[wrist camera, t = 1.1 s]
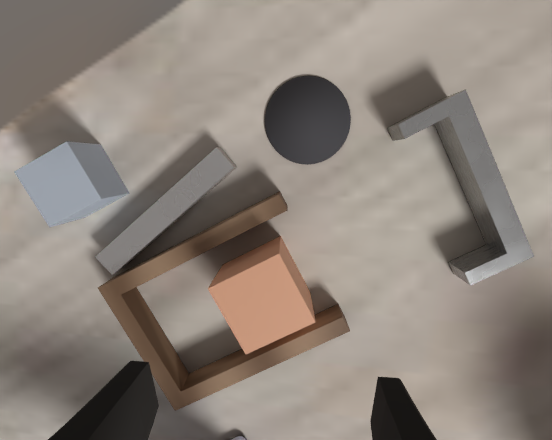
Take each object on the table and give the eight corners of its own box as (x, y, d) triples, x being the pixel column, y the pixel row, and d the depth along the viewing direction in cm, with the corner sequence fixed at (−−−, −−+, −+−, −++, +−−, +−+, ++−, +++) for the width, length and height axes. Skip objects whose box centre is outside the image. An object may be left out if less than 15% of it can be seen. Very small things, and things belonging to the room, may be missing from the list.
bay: (183, 391, 28) (175, 410, 26) (113, 277, 26) (97, 287, 24) (344, 316, 26) (350, 330, 24) (279, 191, 25) (279, 194, 23)
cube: (253, 318, 27) (245, 354, 22) (222, 264, 26) (207, 288, 21) (310, 291, 26) (315, 322, 21) (280, 235, 26) (279, 253, 21)
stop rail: (453, 273, 26) (470, 285, 23) (387, 127, 24) (398, 124, 21) (510, 247, 25) (534, 256, 23) (447, 96, 23) (465, 89, 21)
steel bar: (123, 267, 27) (112, 275, 25) (107, 250, 26) (95, 256, 25) (237, 166, 25) (234, 167, 23) (221, 148, 25) (216, 147, 23)
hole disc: (289, 178, 25) (288, 178, 25) (250, 102, 24) (249, 102, 24) (364, 139, 24) (364, 139, 24) (327, 60, 23) (327, 59, 23)
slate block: (85, 217, 26) (49, 227, 22) (56, 170, 25) (14, 171, 21) (130, 193, 25) (101, 198, 21) (101, 144, 25) (66, 141, 21)
